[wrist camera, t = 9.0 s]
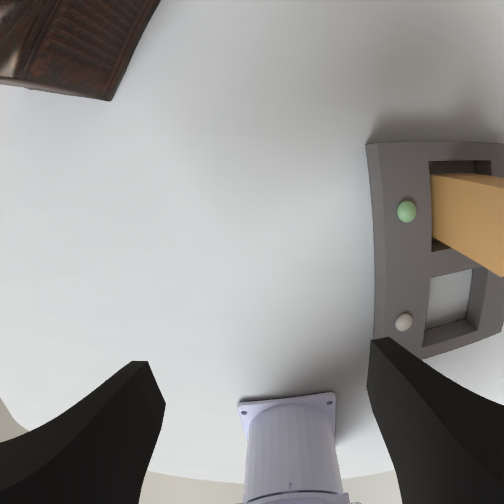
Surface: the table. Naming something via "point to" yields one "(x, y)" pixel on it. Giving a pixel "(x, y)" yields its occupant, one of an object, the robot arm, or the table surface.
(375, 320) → the socket block
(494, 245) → the plug
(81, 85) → the manual coffee grinder
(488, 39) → the table surface
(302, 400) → the robot arm
